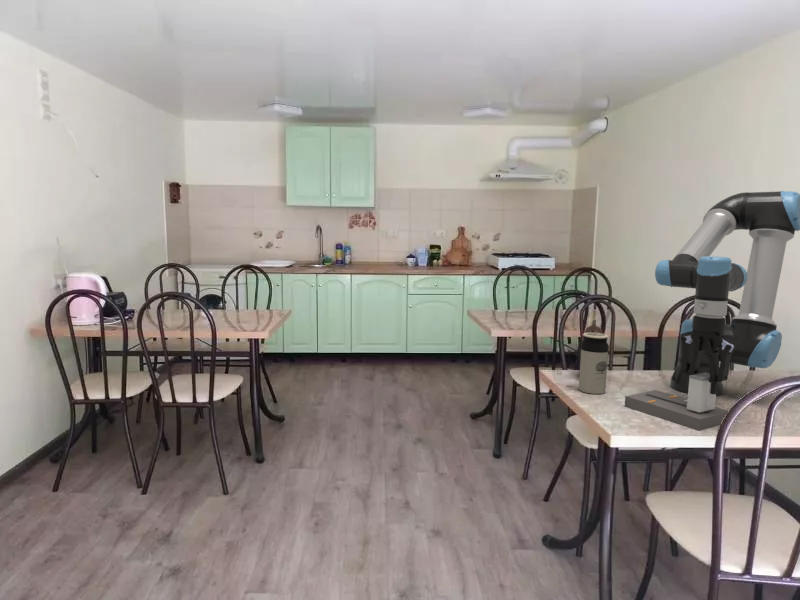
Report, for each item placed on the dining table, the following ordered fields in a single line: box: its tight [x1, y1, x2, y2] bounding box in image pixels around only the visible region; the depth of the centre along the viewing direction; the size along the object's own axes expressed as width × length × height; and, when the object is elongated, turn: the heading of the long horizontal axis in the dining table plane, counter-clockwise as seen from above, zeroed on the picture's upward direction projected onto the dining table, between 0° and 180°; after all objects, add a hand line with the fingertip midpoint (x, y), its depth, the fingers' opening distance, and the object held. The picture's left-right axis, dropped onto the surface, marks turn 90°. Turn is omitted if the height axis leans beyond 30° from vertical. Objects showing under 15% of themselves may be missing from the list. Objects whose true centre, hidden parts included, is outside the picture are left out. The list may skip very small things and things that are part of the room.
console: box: [624, 389, 729, 431], centre depth 153 cm, size 22×14×3 cm, turn 31°
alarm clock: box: [579, 319, 603, 362], centre depth 189 cm, size 15×7×20 cm, turn 159°
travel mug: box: [578, 332, 610, 395], centre depth 173 cm, size 8×8×18 cm
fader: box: [687, 373, 717, 413], centre depth 146 cm, size 4×7×9 cm, turn 121°
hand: (701, 402), depth 147 cm, fingers closed on fader, 3 cm apart
